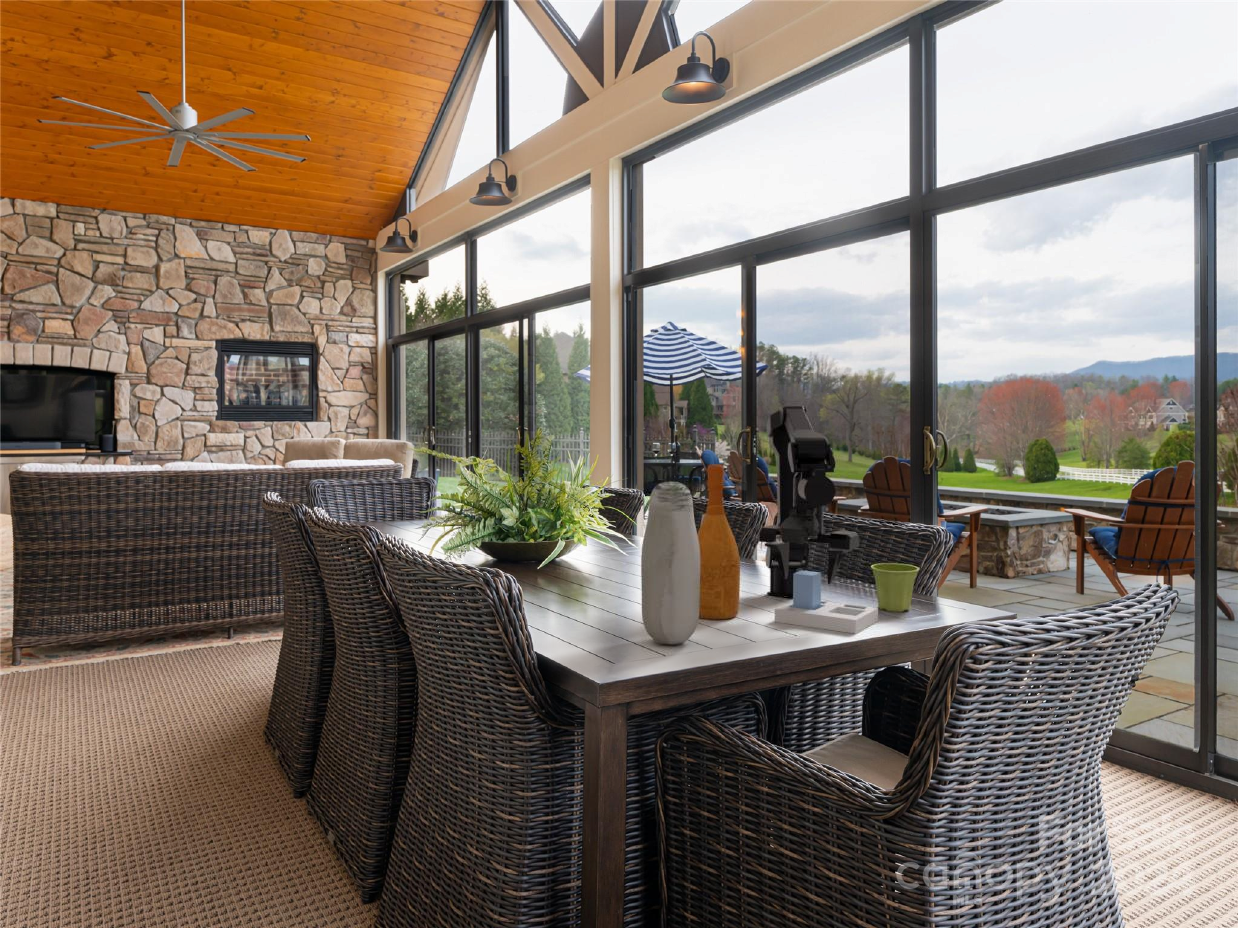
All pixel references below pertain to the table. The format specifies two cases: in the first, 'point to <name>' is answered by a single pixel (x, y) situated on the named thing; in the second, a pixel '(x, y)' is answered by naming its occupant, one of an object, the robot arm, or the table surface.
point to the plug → (807, 590)
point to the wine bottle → (717, 555)
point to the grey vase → (670, 566)
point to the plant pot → (894, 585)
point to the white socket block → (829, 616)
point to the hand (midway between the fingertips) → (807, 581)
